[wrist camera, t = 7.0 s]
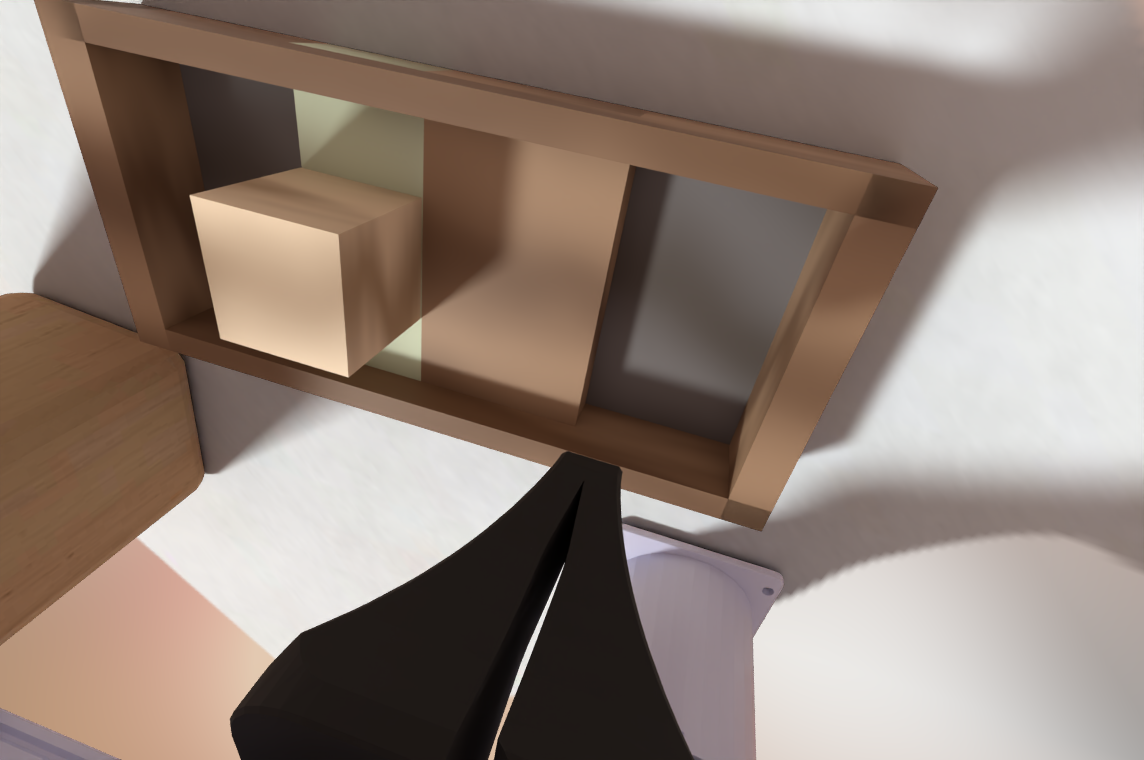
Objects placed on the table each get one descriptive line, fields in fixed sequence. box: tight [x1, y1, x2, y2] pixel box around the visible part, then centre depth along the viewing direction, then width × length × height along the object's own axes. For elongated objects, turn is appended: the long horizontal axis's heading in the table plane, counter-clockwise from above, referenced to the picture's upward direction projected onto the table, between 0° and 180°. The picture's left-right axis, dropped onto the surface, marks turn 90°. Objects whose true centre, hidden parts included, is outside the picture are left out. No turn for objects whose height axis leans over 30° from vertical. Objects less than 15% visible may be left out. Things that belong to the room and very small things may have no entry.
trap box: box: [34, 0, 938, 531], centre depth 19 cm, size 12×26×4 cm, turn 80°
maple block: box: [190, 168, 422, 377], centre depth 17 cm, size 4×4×4 cm
